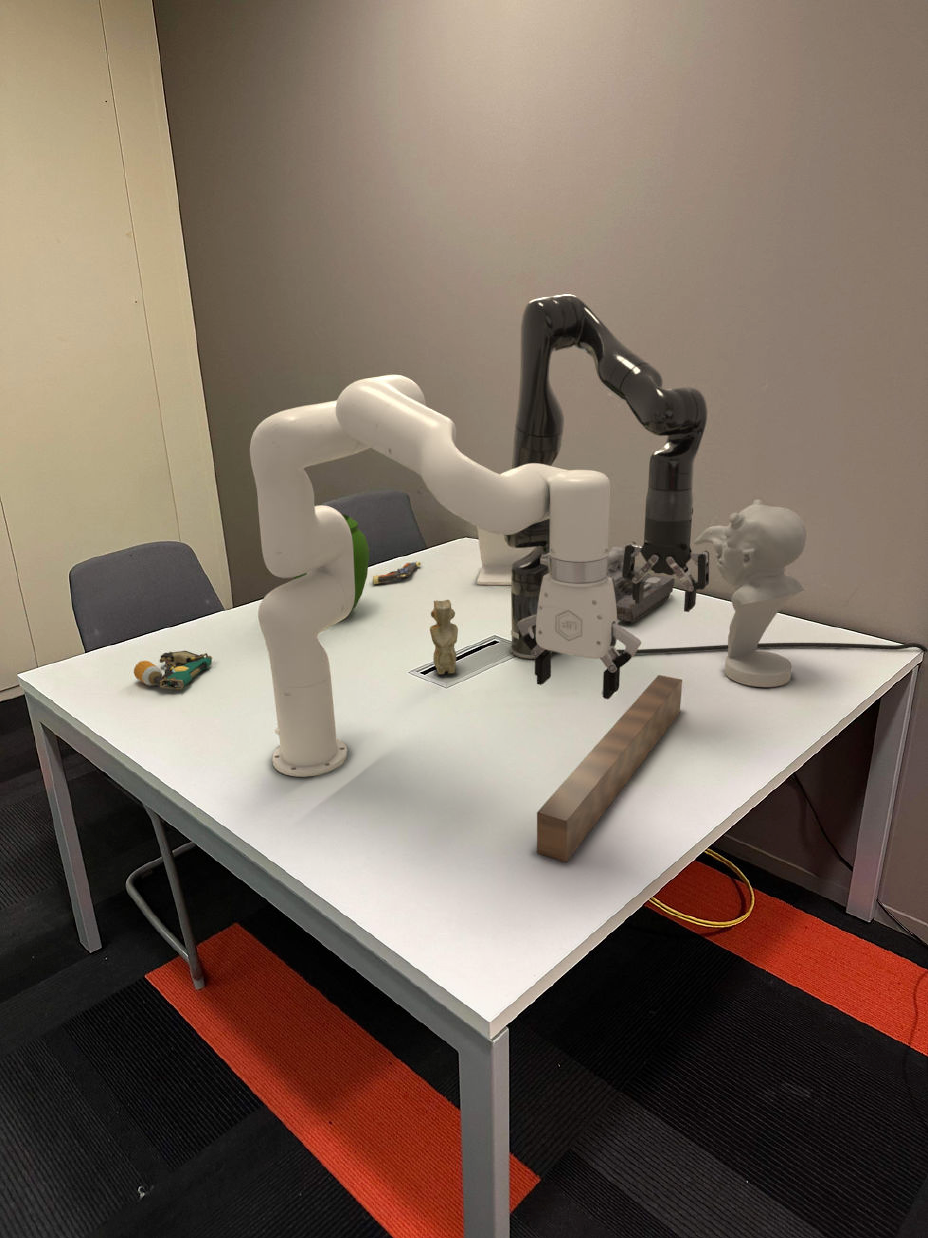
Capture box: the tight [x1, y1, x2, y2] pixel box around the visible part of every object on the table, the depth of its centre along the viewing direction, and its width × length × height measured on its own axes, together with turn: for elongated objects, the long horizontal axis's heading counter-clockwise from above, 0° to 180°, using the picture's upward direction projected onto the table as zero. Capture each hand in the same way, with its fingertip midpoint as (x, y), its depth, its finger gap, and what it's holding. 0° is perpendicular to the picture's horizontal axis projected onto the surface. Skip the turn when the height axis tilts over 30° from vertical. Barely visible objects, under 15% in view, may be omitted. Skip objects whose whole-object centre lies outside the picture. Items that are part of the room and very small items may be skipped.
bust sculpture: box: [693, 499, 807, 688], centre depth 171 cm, size 16×24×35 cm, turn 28°
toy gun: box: [372, 561, 422, 585], centre depth 242 cm, size 3×19×10 cm
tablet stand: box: [476, 526, 535, 586], centre depth 236 cm, size 18×25×17 cm
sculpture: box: [429, 599, 459, 675], centre depth 177 cm, size 6×7×15 cm
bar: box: [536, 674, 683, 863], centre depth 138 cm, size 51×4×7 cm, turn 149°
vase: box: [293, 513, 370, 615], centre depth 209 cm, size 20×20×24 cm
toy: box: [608, 546, 676, 624], centre depth 212 cm, size 25×20×15 cm
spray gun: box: [133, 650, 213, 690], centre depth 180 cm, size 4×17×15 cm
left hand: (576, 687), depth 116 cm, fingers open, 9 cm apart
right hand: (663, 606), depth 146 cm, fingers open, 8 cm apart
